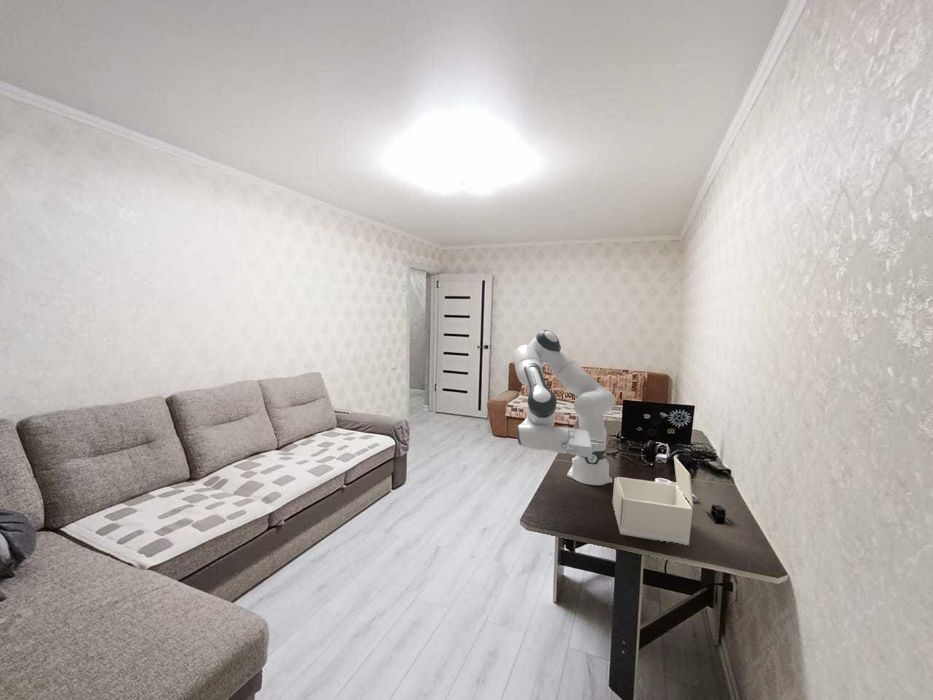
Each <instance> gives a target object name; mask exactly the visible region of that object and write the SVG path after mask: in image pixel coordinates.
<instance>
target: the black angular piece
mask: <svg viewBox="0 0 933 700" xmlns="http://www.w3.org/2000/svg"><path fill="white" fill-rule="evenodd" d="M726 512H727V511H726V509H725V508H724V507H723V506H722V505H718V504H711V508H710V511H708V512H706V513H707V514H708V515H707V514H706V513H705V514H706V515H707V517H709V518H710V520H711V521H712V522H713V523H714V524H716V525H721V526H731V527H732V526H733V524H732V523H731V522H730V521H729V520H728V519H727V517H726Z"/></svg>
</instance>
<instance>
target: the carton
mask: <svg viewBox="0 0 933 700" xmlns="http://www.w3.org/2000/svg"><path fill="white" fill-rule="evenodd" d="M613 479H614V480H613V492H612V493H613V494H612V507H613V512H614V511H615V512H614V515H615V518H616V524H617V526H618V529H619V530H618V531H619V533H620V535H622V536H627V537H635V538H641V539H645V540H646V539H647V540H653V541H657V540H659V541H658V542H663V541H666V542H665V543H669V542H675V543H679V544H678V545H681V544H683V546H687V545H688V546H690V536H691V529H692V526H691V525H692V517H693V506H692V505H691V504H690V503H689V502H688V501H687V500H686V499H685V497H684V496H683V494H682V493H681V491H680V490H679V488H678V487H677V486H676V485H674V484H667V483H660V482H655V481H652V480H645V479H636V478H630V477H623V476H622V477H621V476H617V477H614V478H613ZM675 543H674V544H675ZM688 546H687V547H688Z"/></svg>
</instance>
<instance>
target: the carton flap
mask: <svg viewBox="0 0 933 700" xmlns="http://www.w3.org/2000/svg"><path fill="white" fill-rule="evenodd" d="M673 461H674V471H675V473H674V474H675V480H676V481H675V483H677V485H678V487H679V488H680V490H681V491H682V493H683V494H684V495H685V497H686V498H687V500H688V501H689V502H688V503H689V504H690V506H691V507H694V502H693V496H692V493H693V488H692V486H693V485H692V479H691V476H692V475H691V474H690V472H689V471H688V470H687V469H686V468H685V466H684V465H683V464H682V463H681V461H679V459H678V458H677V457H676V456H673Z"/></svg>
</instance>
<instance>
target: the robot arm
mask: <svg viewBox="0 0 933 700" xmlns="http://www.w3.org/2000/svg"><path fill="white" fill-rule="evenodd" d="M513 360H514V361H513V363H514V369H515V374H516V376H517V379H518V381H519V383H521V384H522V385H524V386H527V387H528V388H529V393H528V396H527V406H528V415H527V416H526V418H525V419H524V421H522V422H521V423H520V424H518V425H517V427H516V431H517V442H518V444H519V446H521V447H523V448H526V449H530V450H536V451H549V452H552V453H559V454H567V453H568V454H570V455H573V456H574V457H572V459H571V463H572V465H571V467H570V469H569V470H568V472H567V473H566V474H567V477H568V478H571V479H574V480H576V482H579V483H581V484H585V485H591V486H604V485H606V484H609V483H610V484H612V483H613V479H612V477H611V476H610V475H609V474H610V473H609V471H610V470H609V469H610V462H609V461H608V460H607V448H606V444H607V433H608V432H607V429H606V427H605V423H604V416H605V414H608V413H609V412H611V411H612V410H613V408H614V407H615V404H616V397H615V395H614V394H613V393H612V392H611V391H610V390H608V389H606V388H605V387H603V386H602V385H601V384H600V383H599V382H598V381H596V380H595V379H593V377H592V376H590V375H589V374H588V373H587V372H586V371H585V370H584V369H583V368H582V366H580V364H579V363H578V362H577V361H576V360H575V359H574V358H573V357H572V356H571V355H570V354H569V353H567V351H565V350H564V349H562V347H561V343H560V339H559V338H558V336H557V335H556V334H555V333H554V332H552V331H551V330H547V329H542V330H541V331H539V332H538V333H537V334H536V335H535V337H534V338H533V339H532V340H531V341H530V342H529V343H528V344H523V345H520V346H518V347H517V348H516V349H515V351H514V355H513ZM545 364H547V365H548V367H549V368H550V370H551V372H552V373H553V375H554V376H555V377H556V378H557V379H558V381H559V382H560V383H561V384H562V385H563V387H564V388H565V389H566V390H567V391H568V392H570V393H572V394H573V395H575V396H576V398H575V400H574V403H573V409H574V412H575V414H577V419H578V424H579V428H575V427H574V428H573V427H569V425H562V426H555V421H556V407H557V402H558V400H557V397H556V395H555V393H554V392H553V391H552V390H551V389H550V388H549V387H548V385H547V383H546V380H545V378H544V370H543V366H544V365H545Z"/></svg>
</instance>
